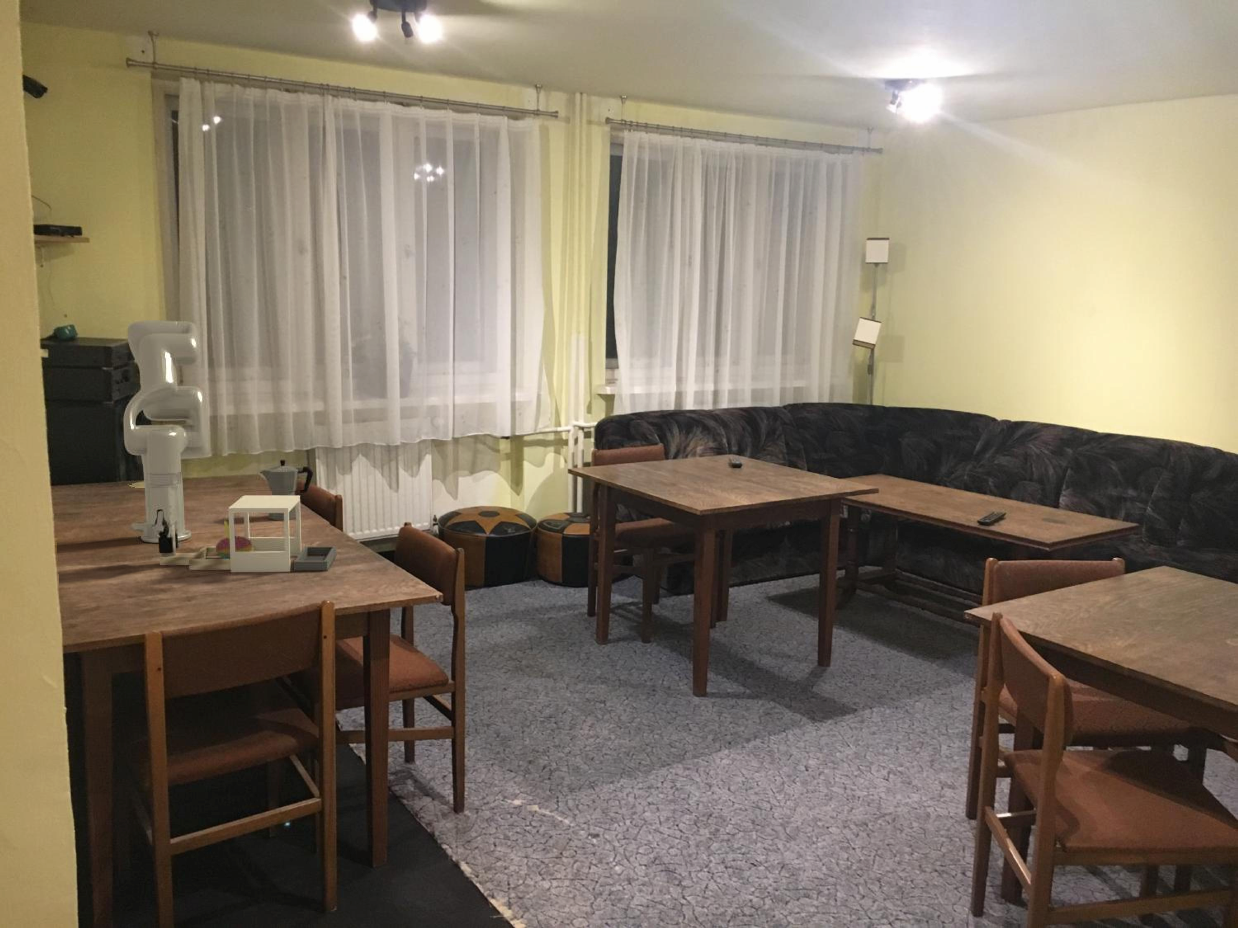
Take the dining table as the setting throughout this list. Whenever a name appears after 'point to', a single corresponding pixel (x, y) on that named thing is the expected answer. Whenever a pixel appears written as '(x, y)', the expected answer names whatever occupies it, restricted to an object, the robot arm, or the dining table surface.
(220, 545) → the cupcake
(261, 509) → the white open frame box
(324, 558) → the grey shallow rectangular tray
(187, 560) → the cream frame with post
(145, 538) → the robot arm
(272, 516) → the coffeepot
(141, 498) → the dining table surface
